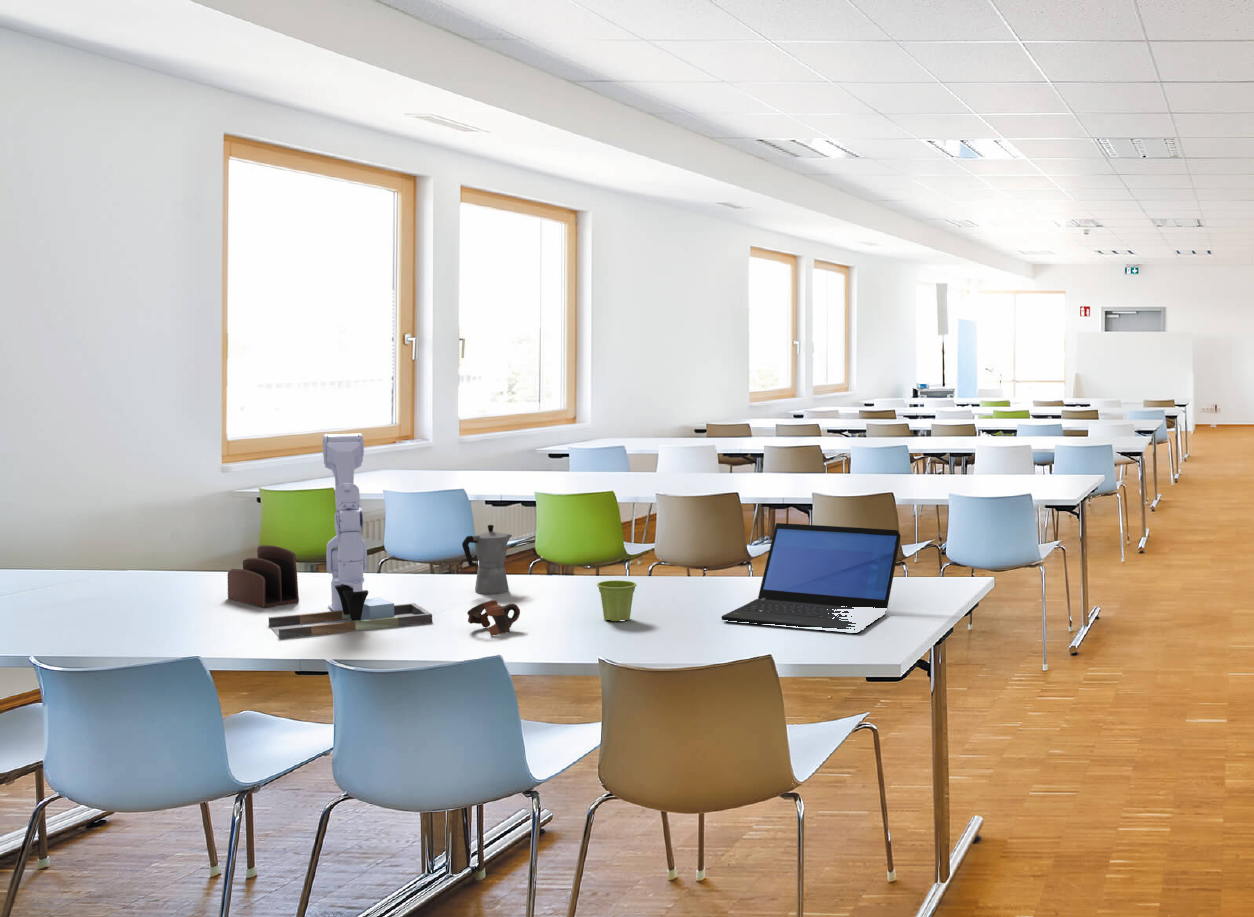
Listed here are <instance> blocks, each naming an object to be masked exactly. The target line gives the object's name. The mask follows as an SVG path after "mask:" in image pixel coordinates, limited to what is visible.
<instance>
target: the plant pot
mask: <svg viewBox="0 0 1254 917" xmlns="http://www.w3.org/2000/svg"><path fill="white" fill-rule="evenodd" d="M637 585H638V583H636V582H634V581H629V580H618V579H617V580H603V581H600V582H598V583H597V584H596V586H597V587H598V590H599V593H600V598H601V599H600V600H601V607H602V613H603V620H604V621H606V620H610V621H612V622H613V621H620V620H627V621H629V620H628V619H631V615H632V614H631V613H632V604H633V597H634V592H635V589H636V587H637Z"/></svg>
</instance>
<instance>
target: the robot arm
mask: <svg viewBox="0 0 1254 917" xmlns="http://www.w3.org/2000/svg"><path fill="white" fill-rule="evenodd" d="M364 441H365V440H364V435H363V434H362V433H361V432H358V433H341V434H340V433H339V434H337V433H336V434H327V433H324V435H322V456H323V464H324V467H325V468H327V469H328V470H331V472H332V473H333V477H334V485H335V488H334V496H335V497H334V498H335V499H334V501H335V513H334V530H335V534H336V535H335V536H333V537H332V538H331V539H330V540H329V541H328V542H327V544H326V552H325V554H326V556H325V557H326V572H327V573H328V574H330V575H332V576H331V577H332V579H331V582H330V584H331V585H330V586H331V590H330V591H331V604H328V605H327V607H328V608H329V609H330V610H331V611H339V610H343V613H344V615H349V614H350V618H351V619H350V621H357V620H361V616H362V610H363V605H364V602H365V599H367V597H368V596H369V591H368V589H365V590H363V589H364V588H363V584H364V582H365V578H364V573H365V572H366V571H367V570H368V551H367V544H366V542H365V540H364V539H363V533H364V530H365V517H364V512H363V508H362V507H363V506H362V505H361V496H360V488H359V487H358V486H357V485H356V484H354V477H355V470H356V469H358V468H360V467H362V465H363V464H362V463H363V461H364V454H365V450H364V448H365V447H364V446H365V442H364ZM361 532H362V533H361Z"/></svg>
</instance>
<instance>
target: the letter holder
mask: <svg viewBox="0 0 1254 917" xmlns="http://www.w3.org/2000/svg"><path fill="white" fill-rule="evenodd" d="M256 551H257V552H256V553H257V554H256V556H257V557H245V558H243V560H242V568H230V569H229V570H228V571H227V599H229V600H232V601H237V602H240V603H243V604H248V605H252V606H256V607H257V608H258V607H259V608H263V609H267V608H268V609H269V608H274V607H281V606H287V605H292V604H299V602H300V597H299V586H298V585H299V584H298V583H299V582H298V570H297V559H296V554H295V552H293V551H291V550H289V549H287V548H284V547H282V546H278V545H277V546H276V545H269V544H268V545H264V544H262V545H258V546H257V549H256Z"/></svg>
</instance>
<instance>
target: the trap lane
mask: <svg viewBox="0 0 1254 917" xmlns="http://www.w3.org/2000/svg"><path fill="white" fill-rule="evenodd" d="M339 620H350V621H343V622H331V621H339ZM327 621H328V622H329V621H330V622H331V623H322V624H312V625H311V624H310V625H302V624H308V623H319V622H327ZM430 623H433V613H431V612H429V611H428V610H426V609H425V608H423V607H421V606H420V605H419V604H416V603H415V602H413V603H412V602H411V603H403V604H402V603H401V604H394V617H389V618H379V619H369V620H360V621H357V620H355V621H352V620H351V618H350V614H349V615H344V613H343V610H339V611H333V610H330V611H329V610H328V611H322V612H321V611H320V612H310V613H299V614H290V615H280V616H269V617H268V627H269V628H270V629H271V630H272V631H273V632H274V633H275V634H276V636H277V637H278V638H279V639H287V638H289V639H290V638H297V637H307V636H317V635H325V634H334V633H335V634H336V633H346V632H355V631H363V630H365V631H366V630H373V629H384V628H385V629H386V628H393V627H402V626H411V625H421V624H430Z"/></svg>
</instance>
